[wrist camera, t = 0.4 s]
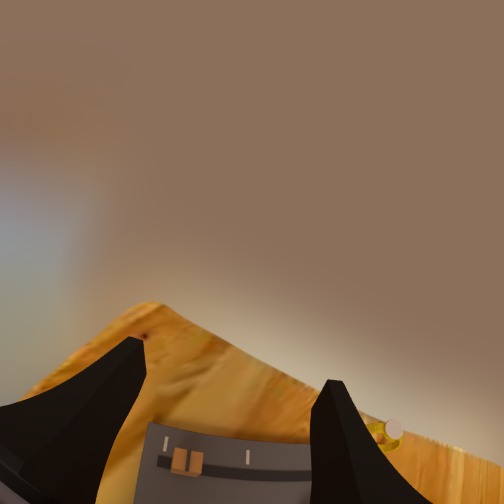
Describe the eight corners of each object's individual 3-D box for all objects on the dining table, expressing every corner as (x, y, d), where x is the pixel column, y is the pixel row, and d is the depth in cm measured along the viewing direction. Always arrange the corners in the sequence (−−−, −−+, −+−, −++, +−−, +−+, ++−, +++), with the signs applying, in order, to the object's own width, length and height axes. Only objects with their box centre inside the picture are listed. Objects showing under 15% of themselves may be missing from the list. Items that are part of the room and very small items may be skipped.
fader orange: (196, 477, 20) (201, 473, 18) (170, 473, 19) (172, 468, 17) (198, 458, 21) (204, 451, 20) (172, 453, 21) (175, 446, 19)
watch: (344, 448, 28) (370, 431, 25) (350, 431, 30) (374, 411, 27) (383, 461, 26) (411, 444, 23) (386, 444, 28) (414, 425, 25)
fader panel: (332, 551, 16) (342, 551, 15) (129, 544, 13) (127, 546, 12) (326, 448, 27) (334, 443, 26) (148, 426, 24) (148, 420, 23)
